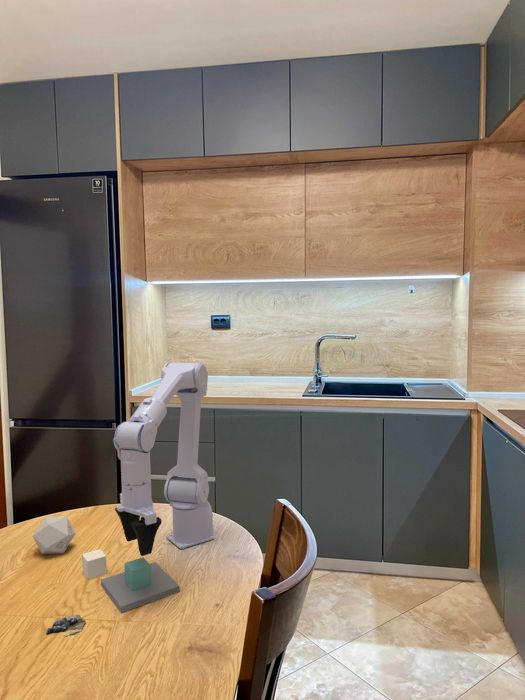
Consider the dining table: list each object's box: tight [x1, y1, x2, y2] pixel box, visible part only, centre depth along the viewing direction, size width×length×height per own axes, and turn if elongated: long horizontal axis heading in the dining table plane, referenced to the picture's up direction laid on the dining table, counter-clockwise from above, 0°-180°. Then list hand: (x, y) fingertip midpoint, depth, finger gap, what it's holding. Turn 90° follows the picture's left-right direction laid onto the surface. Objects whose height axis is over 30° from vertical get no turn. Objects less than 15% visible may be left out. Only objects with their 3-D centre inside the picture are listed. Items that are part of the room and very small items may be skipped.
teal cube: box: [124, 556, 151, 591], centre depth 100 cm, size 4×4×4 cm
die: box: [32, 516, 76, 555], centre depth 117 cm, size 8×9×10 cm
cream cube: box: [81, 548, 108, 580], centre depth 107 cm, size 4×4×4 cm
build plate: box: [100, 561, 181, 614], centre depth 100 cm, size 12×12×1 cm
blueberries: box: [45, 614, 87, 637], centre depth 88 cm, size 7×8×2 cm
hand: (138, 546), depth 100 cm, fingers open, 7 cm apart
